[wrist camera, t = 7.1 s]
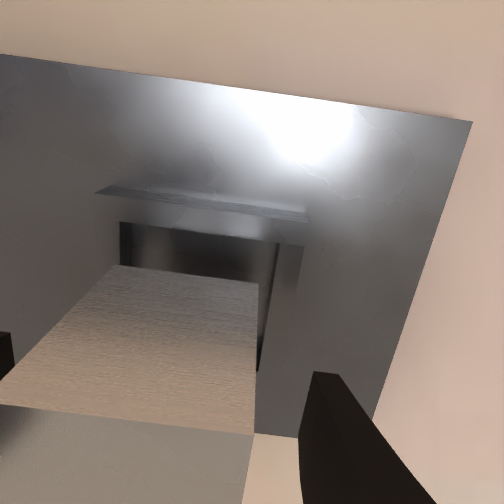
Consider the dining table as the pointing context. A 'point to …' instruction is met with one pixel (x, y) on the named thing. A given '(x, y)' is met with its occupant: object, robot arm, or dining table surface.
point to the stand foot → (223, 212)
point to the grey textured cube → (136, 396)
